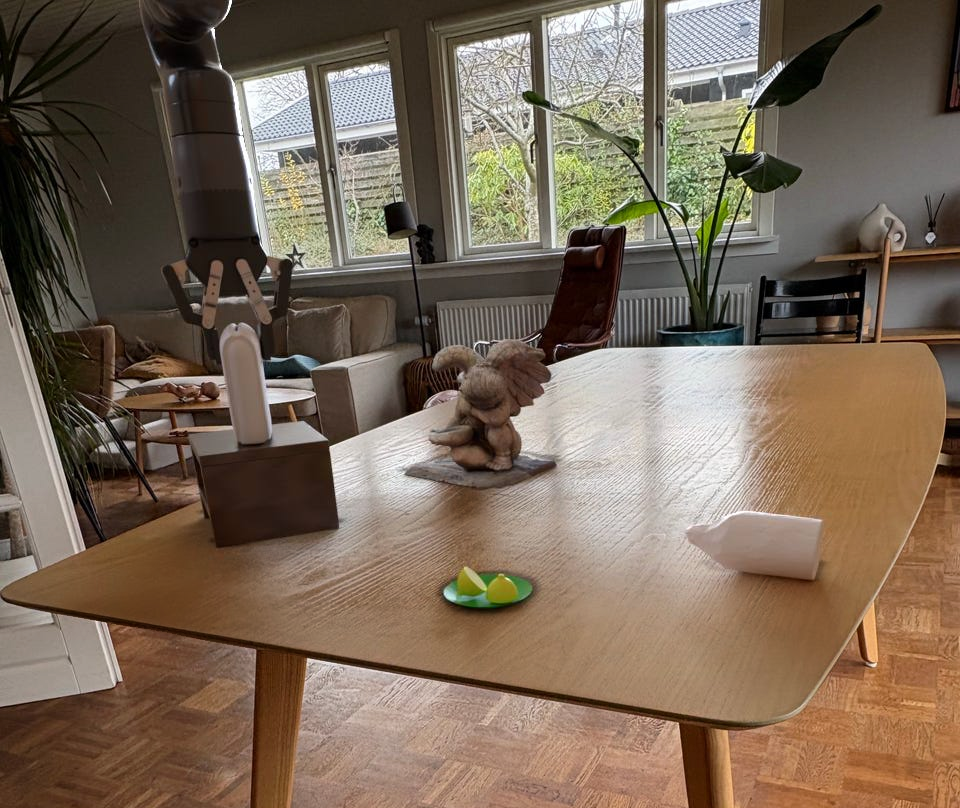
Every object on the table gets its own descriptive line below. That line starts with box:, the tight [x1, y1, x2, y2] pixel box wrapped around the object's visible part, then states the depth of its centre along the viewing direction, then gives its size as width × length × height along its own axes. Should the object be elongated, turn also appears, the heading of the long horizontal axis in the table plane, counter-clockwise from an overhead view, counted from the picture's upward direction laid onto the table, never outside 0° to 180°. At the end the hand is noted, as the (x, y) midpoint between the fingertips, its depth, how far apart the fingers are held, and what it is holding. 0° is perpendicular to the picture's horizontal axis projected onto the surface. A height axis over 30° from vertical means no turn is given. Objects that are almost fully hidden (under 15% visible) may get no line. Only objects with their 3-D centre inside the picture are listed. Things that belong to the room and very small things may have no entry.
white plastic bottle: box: [684, 510, 825, 581], centre depth 77 cm, size 6×12×6 cm, turn 63°
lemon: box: [443, 566, 533, 610], centre depth 75 cm, size 8×8×3 cm
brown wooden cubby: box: [187, 420, 340, 548], centre depth 99 cm, size 14×14×10 cm
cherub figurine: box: [403, 338, 557, 490], centre depth 116 cm, size 18×18×18 cm
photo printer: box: [219, 322, 273, 444], centre depth 94 cm, size 10×4×12 cm, turn 13°
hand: (242, 361), depth 93 cm, fingers closed on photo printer, 4 cm apart
